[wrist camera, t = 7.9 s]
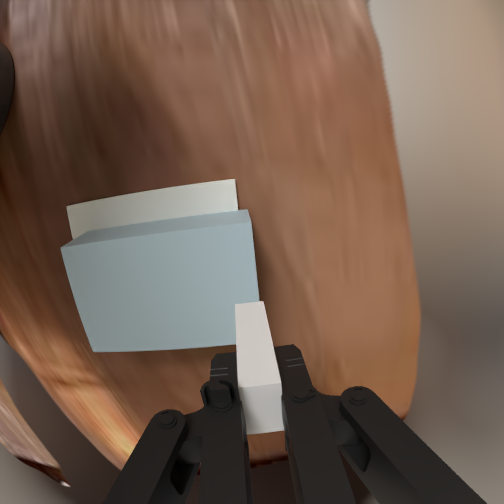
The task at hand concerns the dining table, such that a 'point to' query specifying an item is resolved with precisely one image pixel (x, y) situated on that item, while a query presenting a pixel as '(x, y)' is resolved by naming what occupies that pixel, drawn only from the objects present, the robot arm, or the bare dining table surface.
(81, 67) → the dining table surface
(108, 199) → the mat
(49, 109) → the dining table surface
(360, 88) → the dining table surface
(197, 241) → the slab
